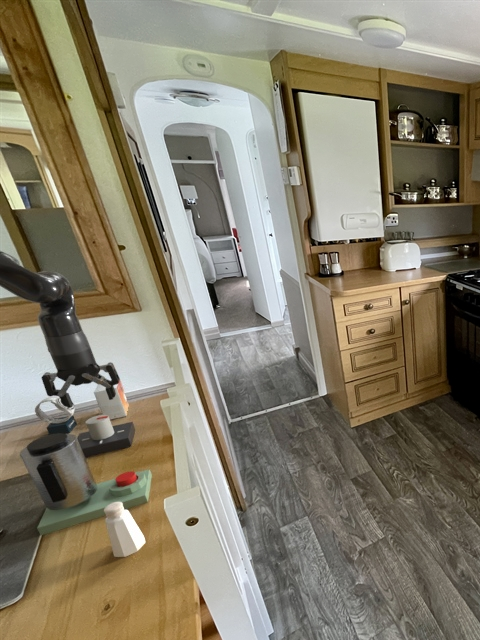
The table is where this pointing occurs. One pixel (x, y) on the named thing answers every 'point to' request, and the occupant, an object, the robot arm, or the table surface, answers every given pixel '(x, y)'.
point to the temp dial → (100, 427)
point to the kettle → (59, 470)
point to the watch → (57, 424)
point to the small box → (112, 401)
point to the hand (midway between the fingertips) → (91, 402)
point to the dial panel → (107, 440)
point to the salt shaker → (122, 530)
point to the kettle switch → (126, 479)
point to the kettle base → (98, 503)
